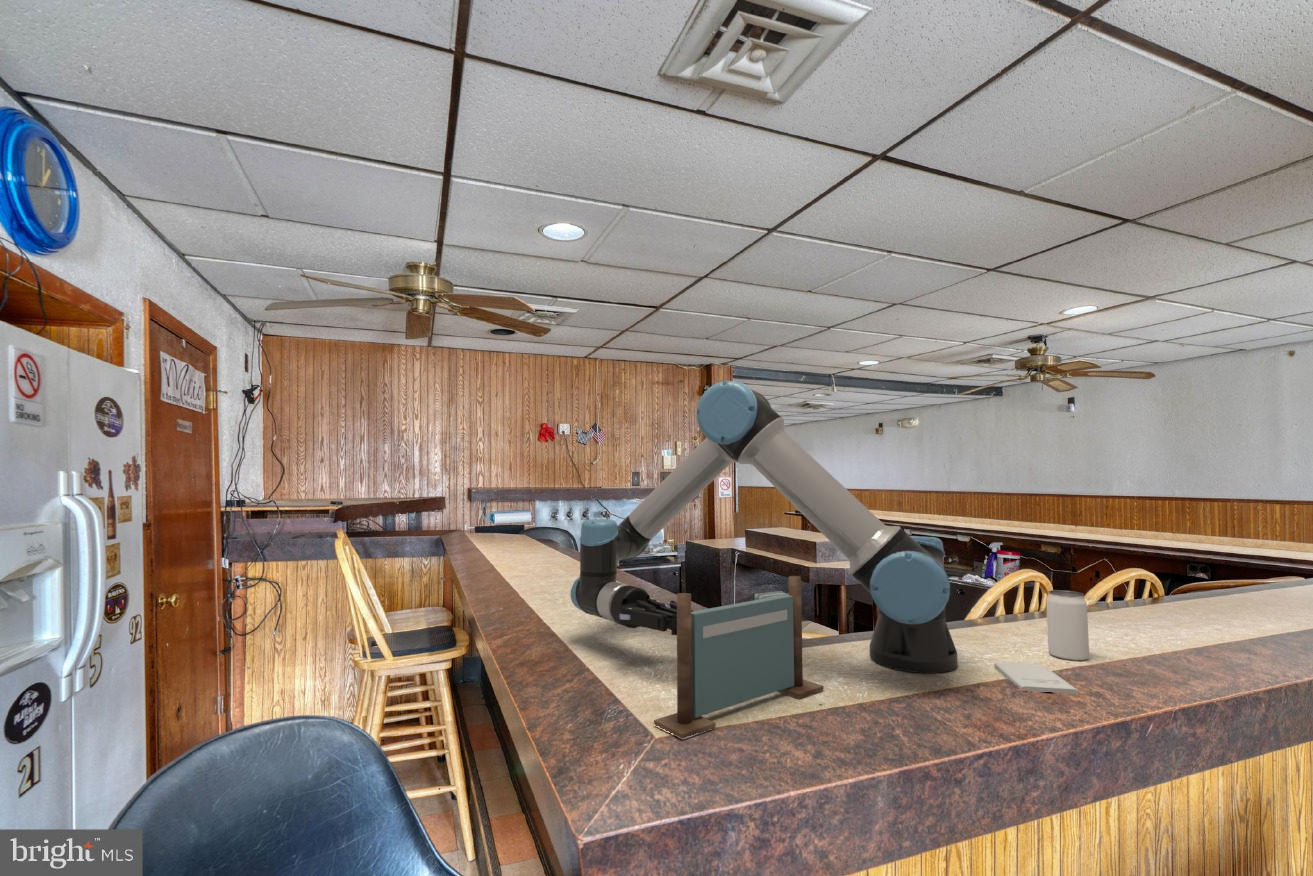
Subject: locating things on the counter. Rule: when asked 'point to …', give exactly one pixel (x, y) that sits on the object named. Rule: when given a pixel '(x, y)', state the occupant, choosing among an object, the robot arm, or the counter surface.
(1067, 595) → the can
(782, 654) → the gate door
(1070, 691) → the external hard drive
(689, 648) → the gate frame
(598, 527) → the robot arm
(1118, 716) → the counter surface
